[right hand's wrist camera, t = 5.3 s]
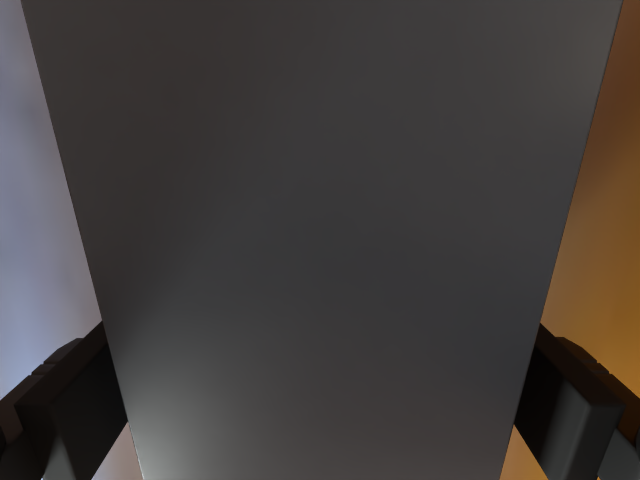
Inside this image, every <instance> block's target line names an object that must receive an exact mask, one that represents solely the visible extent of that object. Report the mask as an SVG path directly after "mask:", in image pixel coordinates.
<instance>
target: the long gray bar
mask: <svg viewBox="0 0 640 480" xmlns="http://www.w3.org/2000/svg"><path fill="white" fill-rule="evenodd" d="M21 4H22V8H23V12H24V16H25V19H26V23H27V27H28V31H29V35H30V39H31V43H32V47H33V51H34V55H35V59H36V63H37V66H38V70H39V74H40V78H41V82H42V86H43V90H44V94H45V98H46V102H47V106H48V109H49V113H50V117H51V121H52V125H53V129H54V133H55V137H56V141H57V145H58V149H59V152H60V156H61V160H62V164H63V168H64V172H65V176H66V180H67V184H68V188H69V192H70V196H71V199H72V203H73V207H74V211H75V215H76V219H77V223H78V227H79V231H80V235H81V239H82V242H83V246H84V250H85V254H86V258H87V262H88V266H89V270H90V274H91V278H92V282H93V286H94V289H95V293H96V297H97V301H98V305H99V309H100V313H101V317H102V321H103V325H104V329H105V332H106V336H107V340H108V344H109V348H110V352H111V356H112V360H113V364H114V368H115V372H116V375H117V379H118V383H119V387H120V391H121V395H122V399H123V403H124V407H125V411H126V415H127V419H128V422H129V426H130V430H131V434H132V438H133V442H134V446H135V450H136V454H137V458H138V462H139V465H140V469H141V473H142V477H143V480H499V479H500V475H501V471H502V467H503V463H504V460H505V456H506V452H507V448H508V444H509V440H510V436H511V433H512V429H513V425H514V421H515V417H516V413H517V409H518V406H519V402H520V398H521V394H522V390H523V386H524V382H525V378H526V375H527V371H528V367H529V363H530V359H531V355H532V351H533V348H534V344H535V340H536V336H537V332H538V328H539V324H540V321H541V317H542V313H543V309H544V305H545V301H546V297H547V294H548V290H549V286H550V282H551V278H552V274H553V270H554V267H555V263H556V259H557V255H558V251H559V247H560V243H561V240H562V236H563V232H564V228H565V224H566V220H567V216H568V212H569V209H570V205H571V201H572V197H573V193H574V189H575V185H576V182H577V178H578V174H579V170H580V166H581V162H582V158H583V155H584V151H585V147H586V143H587V139H588V135H589V131H590V128H591V124H592V120H593V116H594V112H595V108H596V104H597V101H598V97H599V93H600V89H601V85H602V81H603V77H604V73H605V70H606V66H607V62H608V58H609V54H610V50H611V46H612V43H613V39H614V35H615V31H616V27H617V23H618V19H619V16H620V12H621V8H622V4H623V0H21Z"/></svg>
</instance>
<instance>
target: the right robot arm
mask: <svg viewBox="0 0 640 480" xmlns="http://www.w3.org/2000/svg"><path fill="white" fill-rule="evenodd" d="M127 422H128V419H127V415H126V411H125V407H124V403H123V399H122V395H121V391H120V387H119V383H118V379H117V375H116V372H115V368H114V364H113V360H112V356H111V352H110V348H109V344H108V340H107V336H106V332H105V329H104V325H103V321H101V322H100V323H99V324H98V325H97V326H96V327H95V328H94V329H93V330H92V331H91V332H90V333H89V334H87V335H86V336H85V337H84V338H76V339H74V340H73V341H71V342H69V343H68V344H66V345H64V346H62V347H61V348H59V349H57V350H56V351H55V352H54V353H53V354H52V355H51V356H50V357H48V358H47V359H46V360H45V361H44V363H43V364H41V365H39V366H38V367H37V368H36V369H35V370H34V371H33V372H32V374H31V375H28V376H27V377H26V378H25V379H24V380H23V381H22V382H20V383H19V384H18V385H17V386H16V387H15V388H14V389H13V390H12V391H10V392H9V393H8V394H7V395H6V396H5V397H4V398H3V399H1V400H0V480H41V478H43V480H91V479H92V478H93V476H94V474H95V473H96V471H97V470H98V468H99V466H100V465H101V463H102V462H103V460H104V459H105V457H106V455H107V454H108V452H109V451H110V449H111V447H112V446H113V444H114V443H115V441H116V439H117V438H118V436H119V435H120V433H121V431H122V430H123V428H124V427H125V425H126V423H127ZM514 425H515V427H516V428H517V430H518V431H519V433H520V435H521V436H522V438H523V439H524V441H525V443H526V444H527V446H528V447H529V449H530V451H531V452H532V454H533V455H534V457H535V459H536V460H537V462H538V463H539V465H540V466H541V468H542V470H543V471H544V473H545V474H546V476H547V478H548V479H549V480H597V478H598V477H599V478H600V479H601V480H640V399H639V398H638V397H637V396H636V395H635V394H634V393H633V392H632V391H630V390H629V389H628V388H627V387H626V386H625V385H624V384H623V383H621V382H620V381H619V380H618V379H617V378H616V377H615V376H614V375H612V374H609V371H608V370H607V369H606V368H605V367H603V366H602V365H601V364H600V363H597V360H596V359H594V358H593V357H592V356H591V355H590V354H589V353H588V352H587V351H585V350H584V349H583V348H582V347H580V346H578V345H577V344H575V343H573V342H571V341H570V340H568V339H566V338H564V337H555V336H554V335H553V334H551V333H550V332H549V331H548V330H547V329H546V328H545V327H544V326H543V325H542V324H541V323H540V324H539V328H538V332H537V336H536V340H535V344H534V348H533V351H532V355H531V359H530V363H529V367H528V371H527V375H526V378H525V382H524V386H523V390H522V394H521V398H520V402H519V406H518V409H517V413H516V417H515V421H514Z"/></svg>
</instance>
